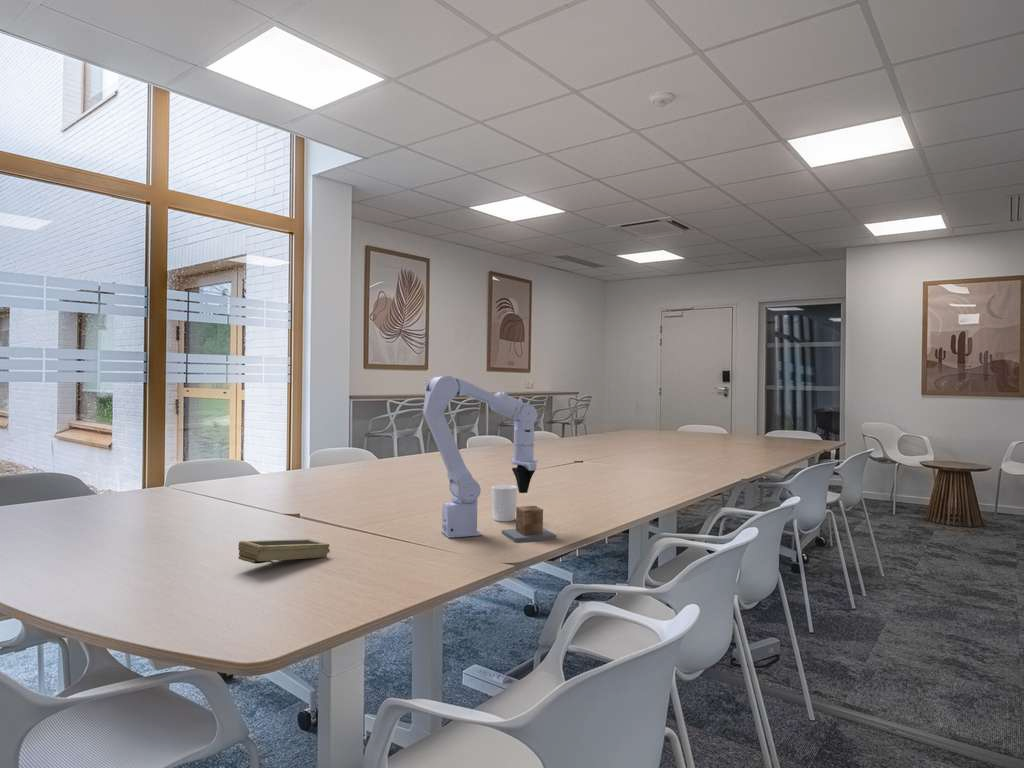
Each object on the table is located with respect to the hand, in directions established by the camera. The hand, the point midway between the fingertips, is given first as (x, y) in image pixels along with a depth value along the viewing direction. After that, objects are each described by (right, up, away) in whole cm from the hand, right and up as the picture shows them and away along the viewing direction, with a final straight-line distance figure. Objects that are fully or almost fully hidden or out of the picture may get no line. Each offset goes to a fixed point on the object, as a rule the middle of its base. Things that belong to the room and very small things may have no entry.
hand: (523, 492), depth 177 cm
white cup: (-6, -11, +13) cm, 17 cm away
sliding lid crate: (+2, -9, -8) cm, 13 cm away
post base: (+1, -10, -8) cm, 13 cm away
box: (-54, -10, -35) cm, 65 cm away
